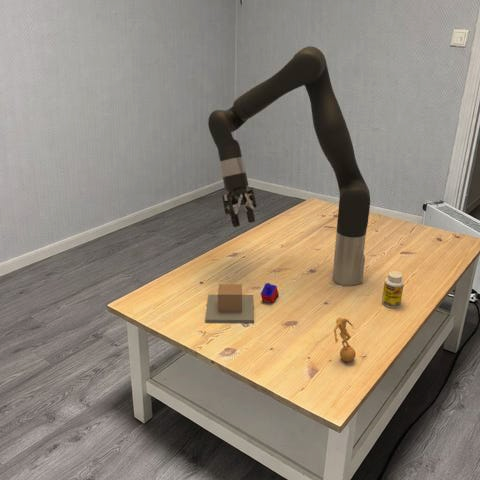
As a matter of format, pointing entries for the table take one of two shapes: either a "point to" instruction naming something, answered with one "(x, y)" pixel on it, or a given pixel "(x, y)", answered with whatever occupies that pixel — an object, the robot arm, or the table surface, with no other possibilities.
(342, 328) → the figurine
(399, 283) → the supplement bottle
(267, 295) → the toy building block
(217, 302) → the plate
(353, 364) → the table surface
